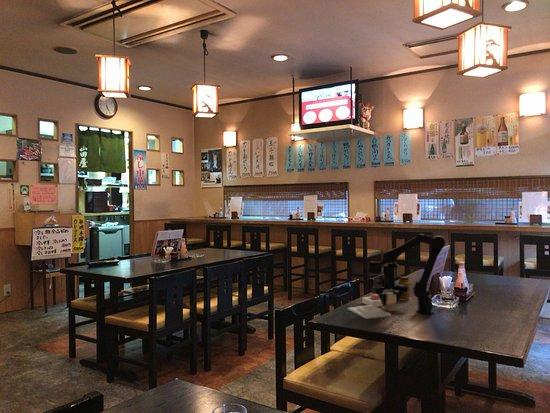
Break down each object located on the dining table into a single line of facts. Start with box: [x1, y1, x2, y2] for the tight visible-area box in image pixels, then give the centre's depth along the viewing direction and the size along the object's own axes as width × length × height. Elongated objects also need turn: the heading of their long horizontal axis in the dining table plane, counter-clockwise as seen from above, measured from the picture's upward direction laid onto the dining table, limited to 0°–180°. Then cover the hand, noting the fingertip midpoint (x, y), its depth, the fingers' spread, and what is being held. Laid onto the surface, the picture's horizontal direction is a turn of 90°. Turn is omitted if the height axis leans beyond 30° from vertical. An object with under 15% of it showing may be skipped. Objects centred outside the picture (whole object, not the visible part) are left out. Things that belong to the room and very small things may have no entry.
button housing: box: [362, 296, 383, 308], centre depth 233 cm, size 10×10×3 cm
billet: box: [382, 292, 397, 312], centre depth 222 cm, size 5×5×8 cm
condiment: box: [398, 275, 413, 301], centre depth 246 cm, size 7×8×12 cm
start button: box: [370, 293, 380, 300], centre depth 233 cm, size 5×5×3 cm
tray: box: [347, 305, 392, 320], centre depth 216 cm, size 18×14×2 cm
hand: (389, 305), depth 222 cm, fingers open, 6 cm apart
